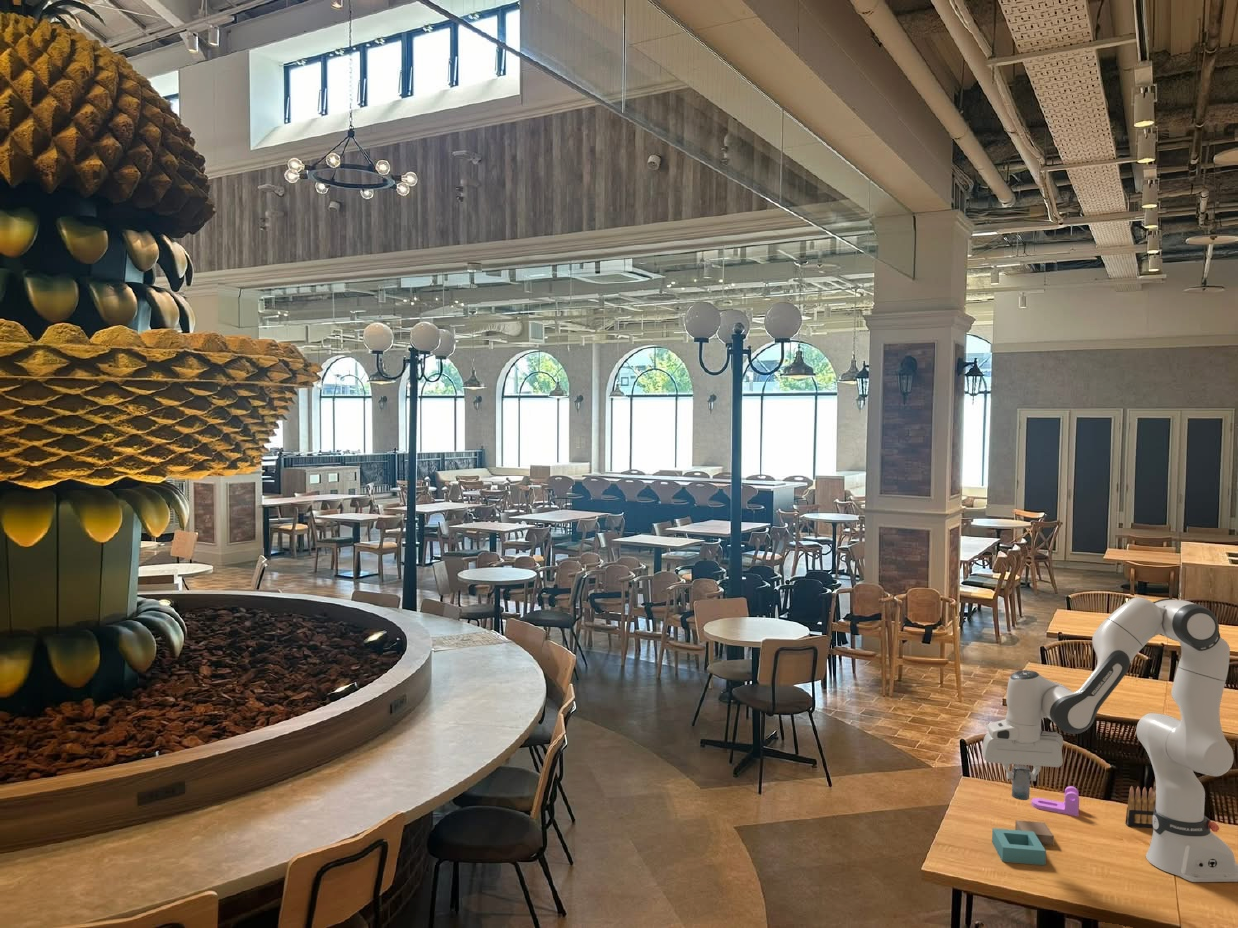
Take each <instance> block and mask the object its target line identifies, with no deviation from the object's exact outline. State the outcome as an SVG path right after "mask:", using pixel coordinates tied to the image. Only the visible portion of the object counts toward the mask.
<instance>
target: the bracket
mask: <svg viewBox="0 0 1238 928" xmlns="http://www.w3.org/2000/svg"><path fill="white" fill-rule="evenodd" d="M1079 795H1080V793H1079V790H1078V788H1076V787H1075V786H1073V785H1071V786H1066V788H1065V789H1064V801H1063V802H1062V801H1057V800H1052V799H1047V798H1041V797H1034V798H1032V799H1031V801H1030V803H1031V804H1030V805H1031V806H1032V807H1033V808H1035V809H1037V810H1041V811H1042V810H1043V811H1048V812H1052V813H1058V814H1064V815H1069V816H1073V817H1079V812H1080V797H1079Z"/></svg>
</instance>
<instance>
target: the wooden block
mask: <svg viewBox="0 0 1238 928" xmlns="http://www.w3.org/2000/svg"><path fill="white" fill-rule="evenodd" d="M1014 830H1020V831H1033V832H1034V833H1035V834H1036V836H1037V838H1038V839H1039V841H1040V842H1041V844H1042V846H1048V847H1054V837H1055V836H1054V834H1053V832H1052V831H1051V830H1050V828H1049V826H1048V825H1047V823H1046V822H1041V821H1030V820H1027V821H1026V820H1015V826H1014Z"/></svg>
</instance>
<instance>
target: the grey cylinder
mask: <svg viewBox="0 0 1238 928" xmlns="http://www.w3.org/2000/svg"><path fill="white" fill-rule="evenodd" d="M1012 772H1013V773H1014V776H1013V777H1014V779H1011V780H1012V781H1011V797H1012V798H1014V799H1016V800H1020V801H1028V800H1029V799H1030V788H1031V785H1030V784H1031V781H1030V772H1031V768H1030V767H1028V766H1027V765H1017V764H1013V766H1012Z"/></svg>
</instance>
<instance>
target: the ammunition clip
mask: <svg viewBox="0 0 1238 928" xmlns="http://www.w3.org/2000/svg"><path fill="white" fill-rule="evenodd" d="M1141 794H1142V795H1141ZM1155 806H1156V790H1155V792H1154V790H1153V787H1152V786H1151V787H1150V788H1149V791H1147V788H1146V786H1144V787H1143V789H1142V793H1141V789H1140V786H1138V785H1137V788H1136V789H1135V791H1134V787H1133V785H1131V786H1130V787H1129V794H1128V799H1127V807H1126V815H1125V825H1126V826H1127V827H1128V828H1141V829H1144V828H1145V829H1153V811H1154V807H1155Z"/></svg>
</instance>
